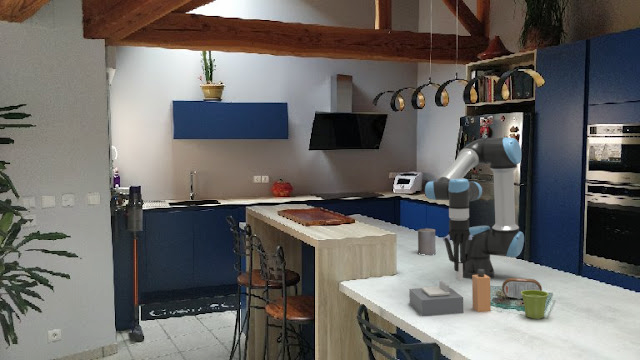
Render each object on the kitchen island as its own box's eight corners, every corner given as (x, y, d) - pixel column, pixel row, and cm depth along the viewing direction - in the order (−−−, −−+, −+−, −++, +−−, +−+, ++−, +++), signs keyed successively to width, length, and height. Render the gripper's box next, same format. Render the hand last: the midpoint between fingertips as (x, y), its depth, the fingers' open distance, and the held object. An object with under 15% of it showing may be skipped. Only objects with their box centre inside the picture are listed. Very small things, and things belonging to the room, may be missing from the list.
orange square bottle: (484, 307, 217) (484, 267, 216) (490, 311, 212) (490, 270, 211) (472, 308, 216) (472, 268, 215) (477, 312, 212) (477, 271, 210)
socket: (448, 300, 227) (447, 286, 227) (463, 312, 211) (463, 297, 211) (409, 303, 225) (409, 289, 225) (422, 316, 209) (422, 300, 209)
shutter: (440, 288, 223) (440, 280, 223) (450, 295, 213) (449, 286, 213) (421, 289, 222) (421, 281, 222) (429, 296, 212) (429, 287, 212)
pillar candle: (416, 252, 322) (415, 226, 321) (432, 251, 323) (432, 225, 322) (421, 256, 313) (420, 229, 311) (438, 255, 314) (437, 228, 312)
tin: (541, 299, 225) (541, 278, 224) (542, 301, 222) (542, 280, 221) (502, 297, 230) (502, 276, 229) (502, 299, 227) (501, 278, 226)
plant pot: (517, 312, 209) (517, 289, 209) (543, 312, 209) (542, 289, 208) (525, 321, 200) (525, 297, 199) (552, 320, 200) (552, 296, 199)
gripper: (471, 217, 221) (471, 276, 223) (439, 218, 220) (440, 278, 221) (479, 219, 214) (479, 280, 216) (446, 221, 212) (447, 282, 214)
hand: (459, 279), depth 218 cm, fingers closed
